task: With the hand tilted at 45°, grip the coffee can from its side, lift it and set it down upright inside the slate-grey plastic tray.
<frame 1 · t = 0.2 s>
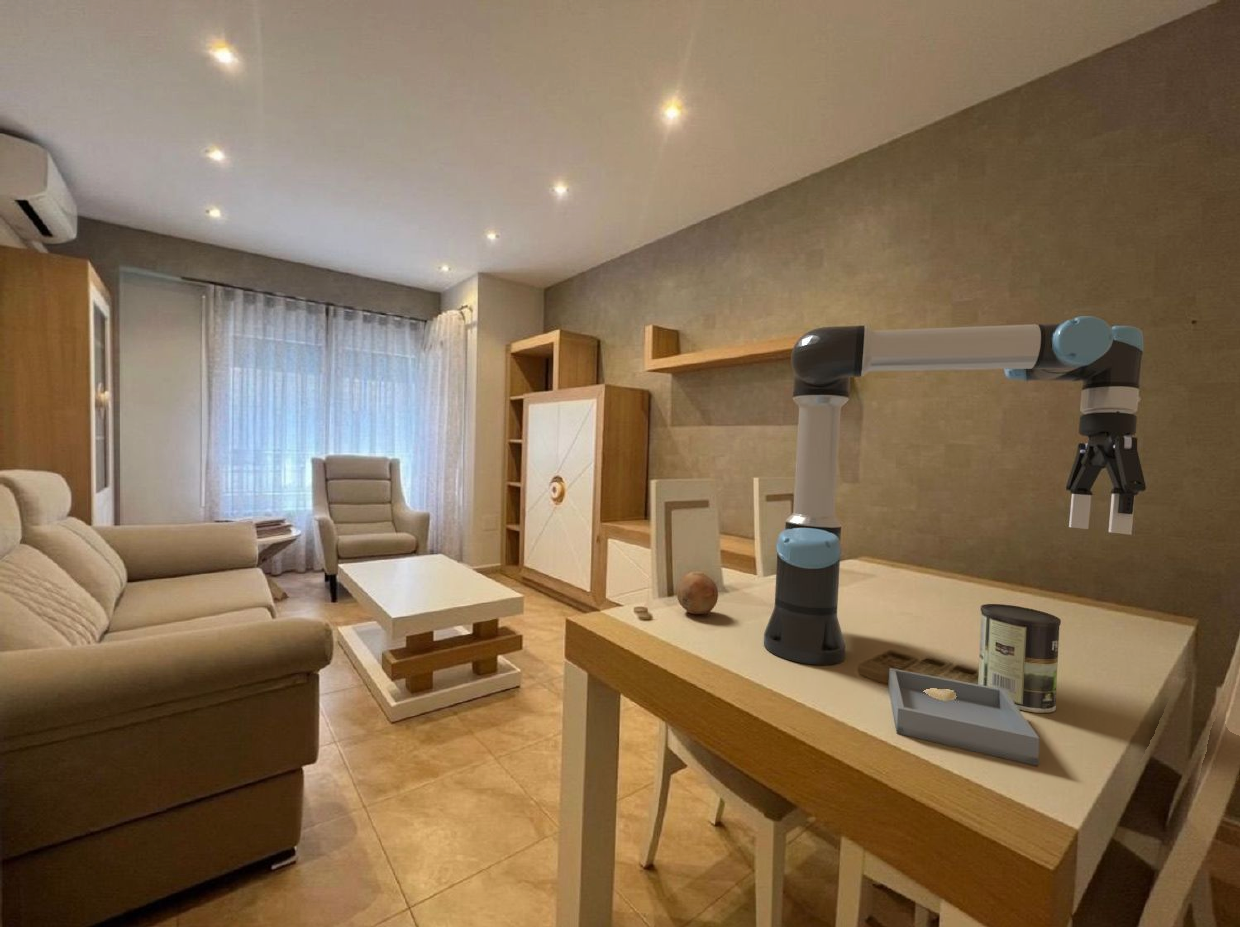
hand: (1097, 530, 91), 27 cm above the table, tool pointing down, fingers open, 13 cm apart
coffee can: (1014, 699, 83), on the table
onion: (696, 614, 121), on the table
tray: (952, 722, 74), on the table
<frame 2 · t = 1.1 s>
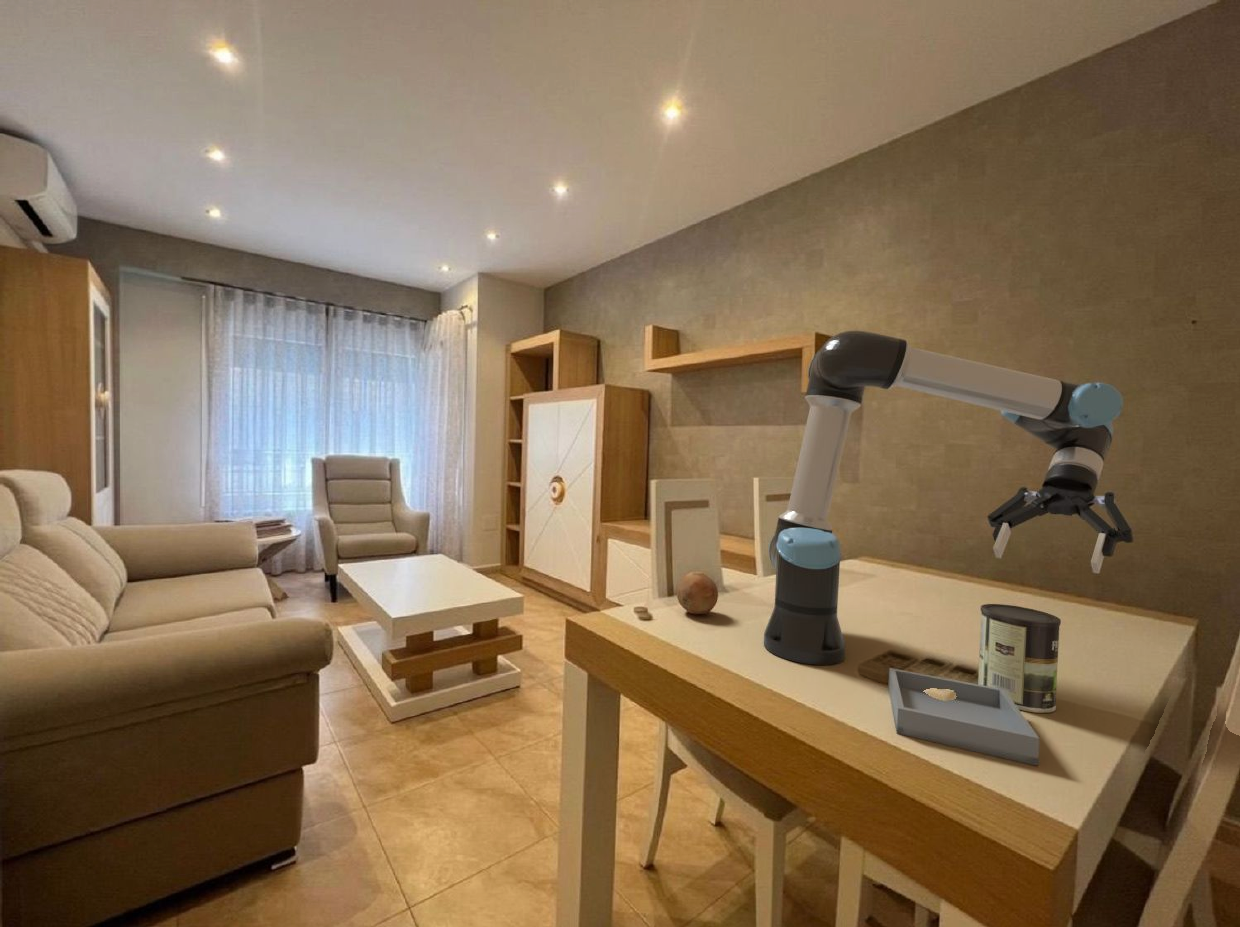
hand: (1042, 560, 89), 22 cm above the table, tool tilted 45°, fingers open, 13 cm apart
nothing on the table moved.
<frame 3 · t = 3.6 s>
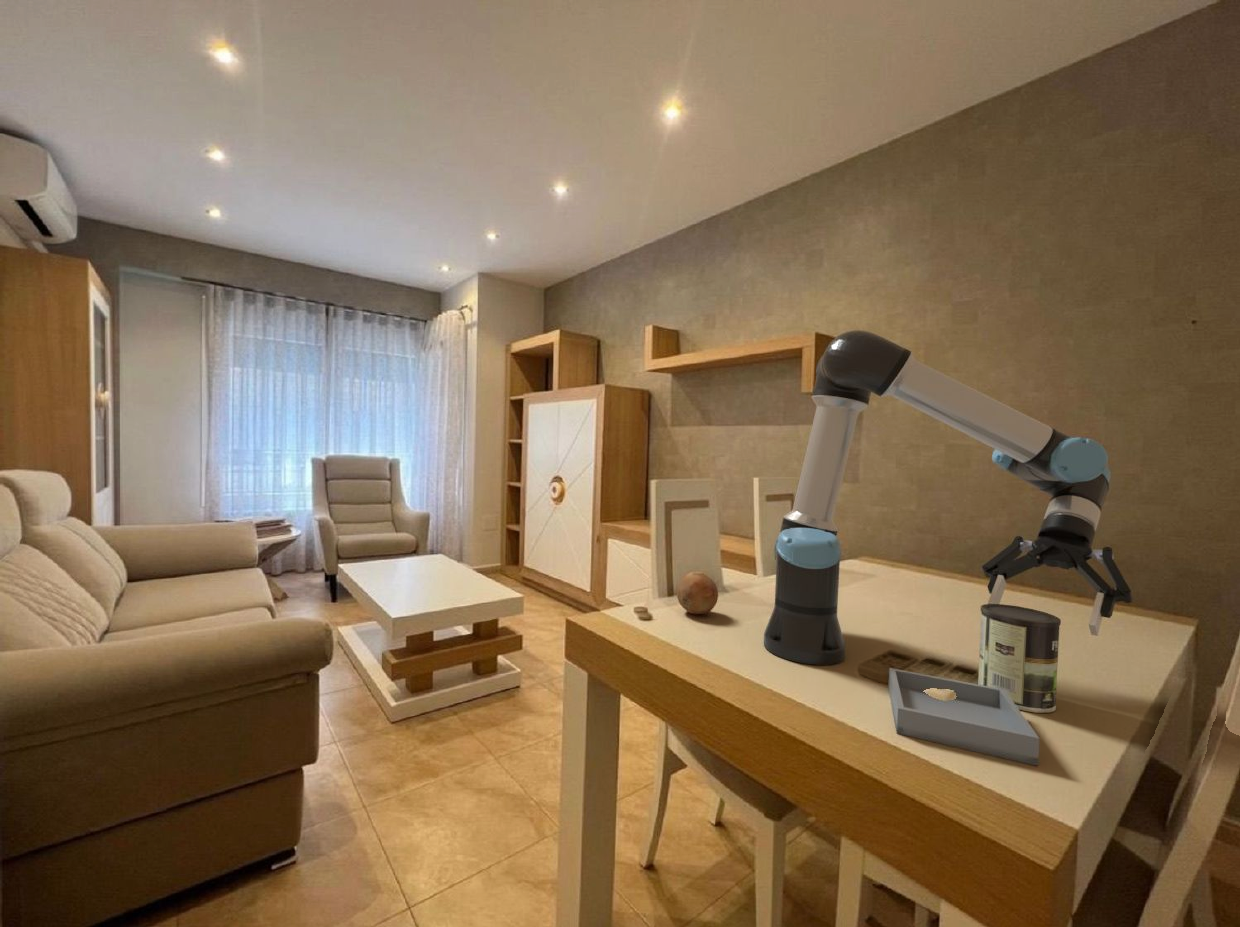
hand: (1039, 618, 86), 12 cm above the table, tool tilted 45°, fingers open, 13 cm apart
nothing on the table moved.
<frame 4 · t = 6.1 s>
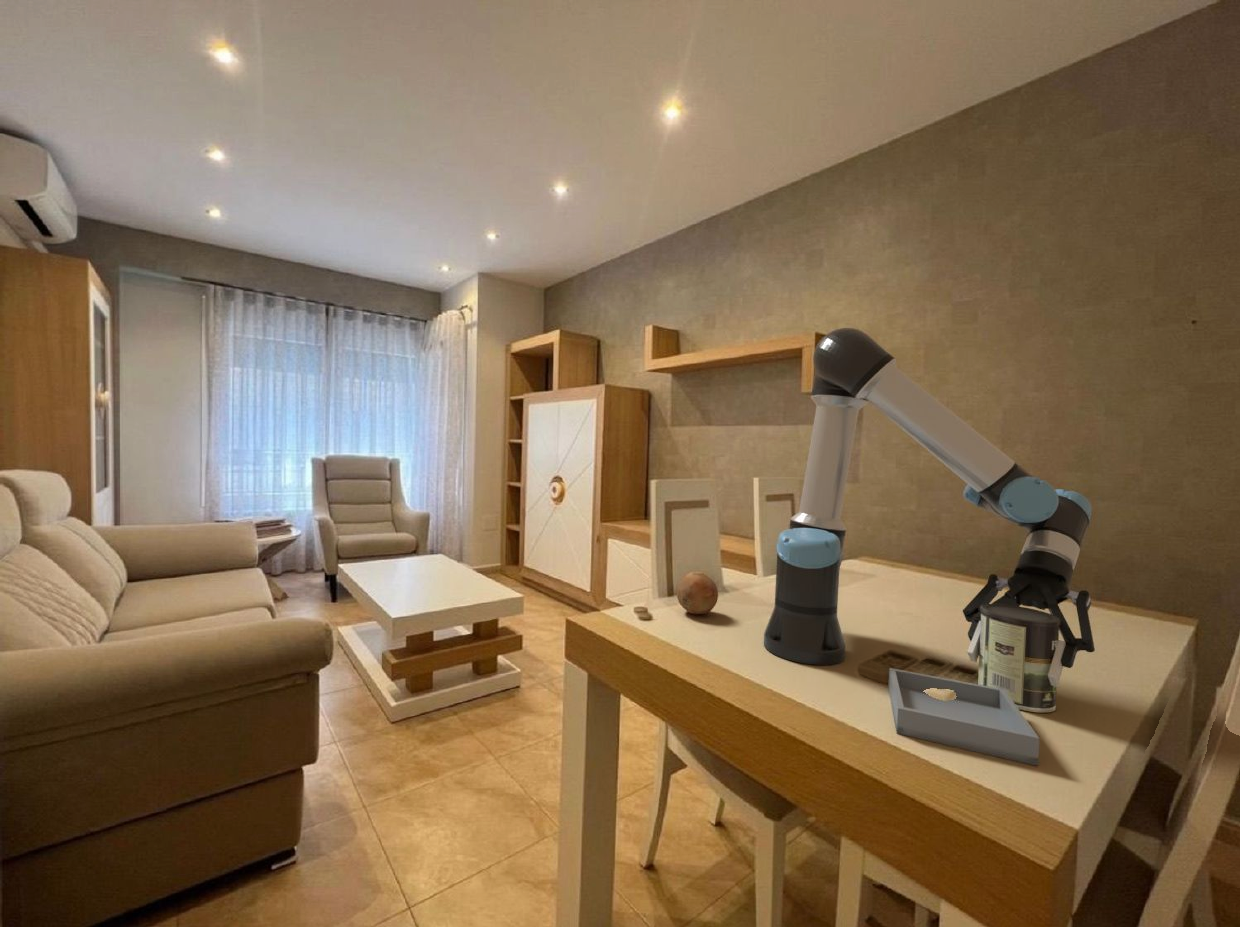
hand: (1010, 668, 81), 5 cm above the table, tool tilted 45°, fingers closed on coffee can, 10 cm apart
coffee can: (1014, 699, 83), on the table, touching gripper
everything else where it was.
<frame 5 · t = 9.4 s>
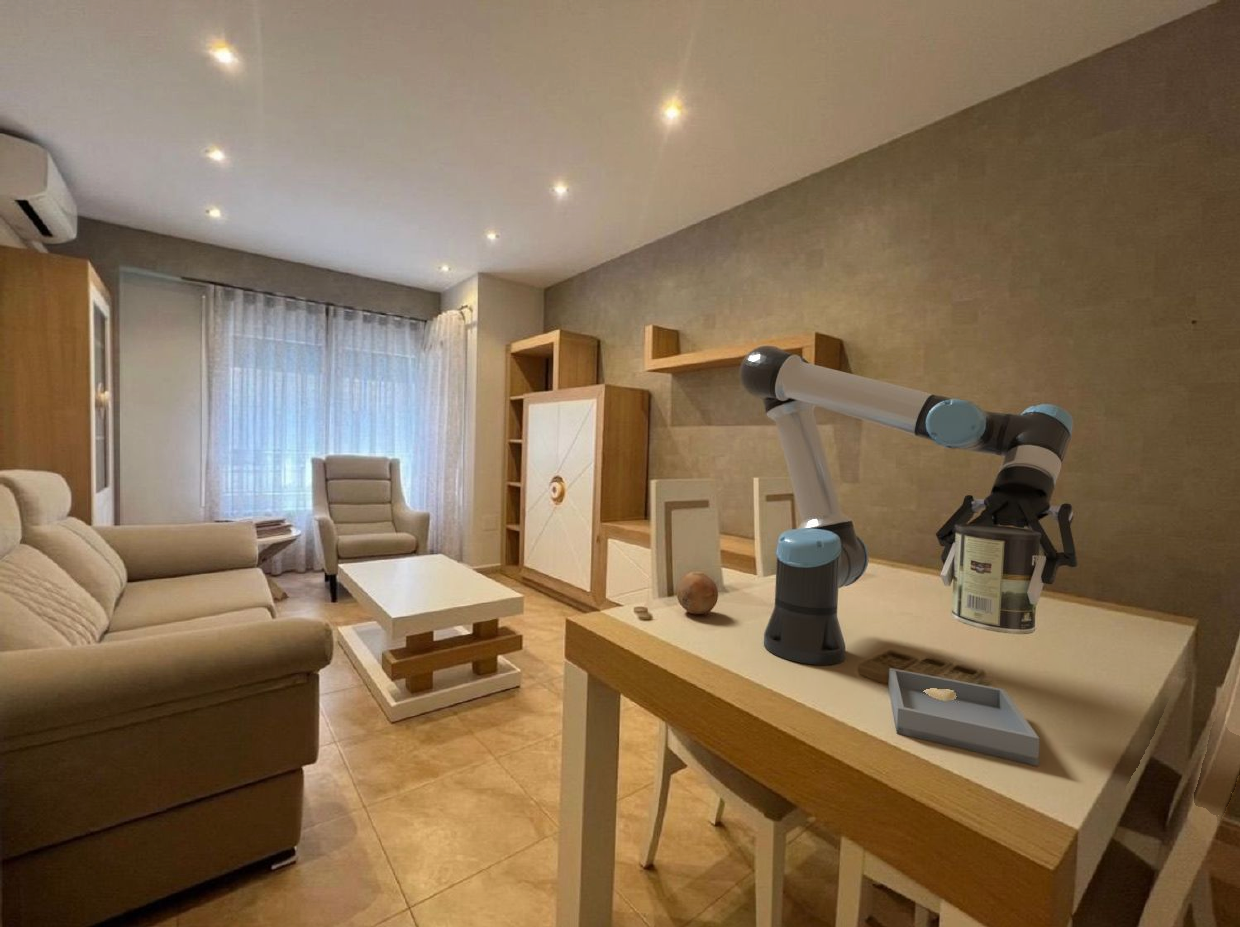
hand: (986, 589, 74), 20 cm above the table, tool tilted 45°, fingers closed on coffee can, 10 cm apart
coffee can: (990, 623, 76), point 14 cm above the table, touching gripper
everything else where it was.
when the fingers open (9 cm above the table, at t = 12.6 s): coffee can drops 2 cm, resting on tray.
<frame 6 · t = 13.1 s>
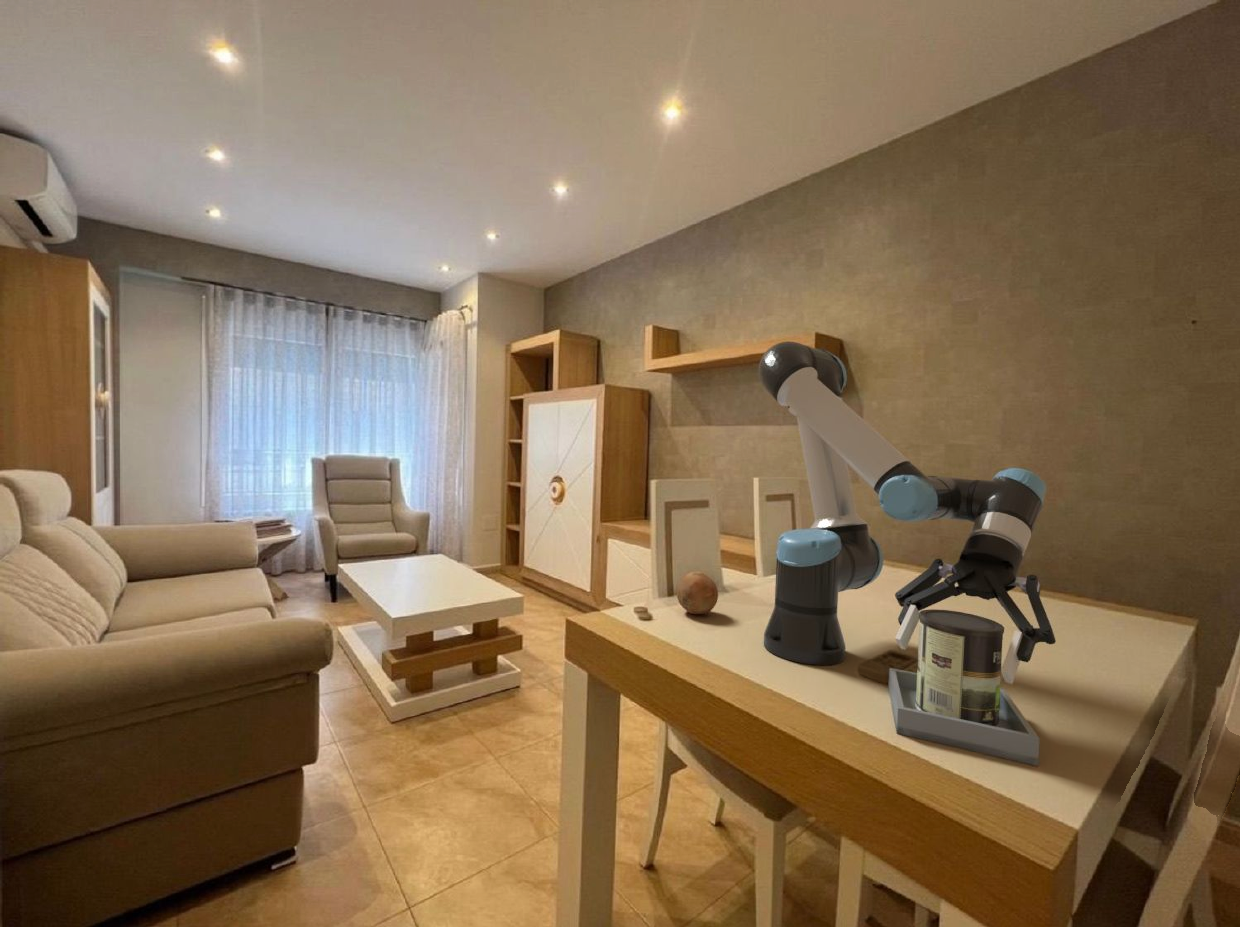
hand: (949, 659, 72), 10 cm above the table, tool tilted 45°, fingers open, 13 cm apart
coffee can: (954, 717, 74), point 1 cm above the table, touching tray
everything else where it was.
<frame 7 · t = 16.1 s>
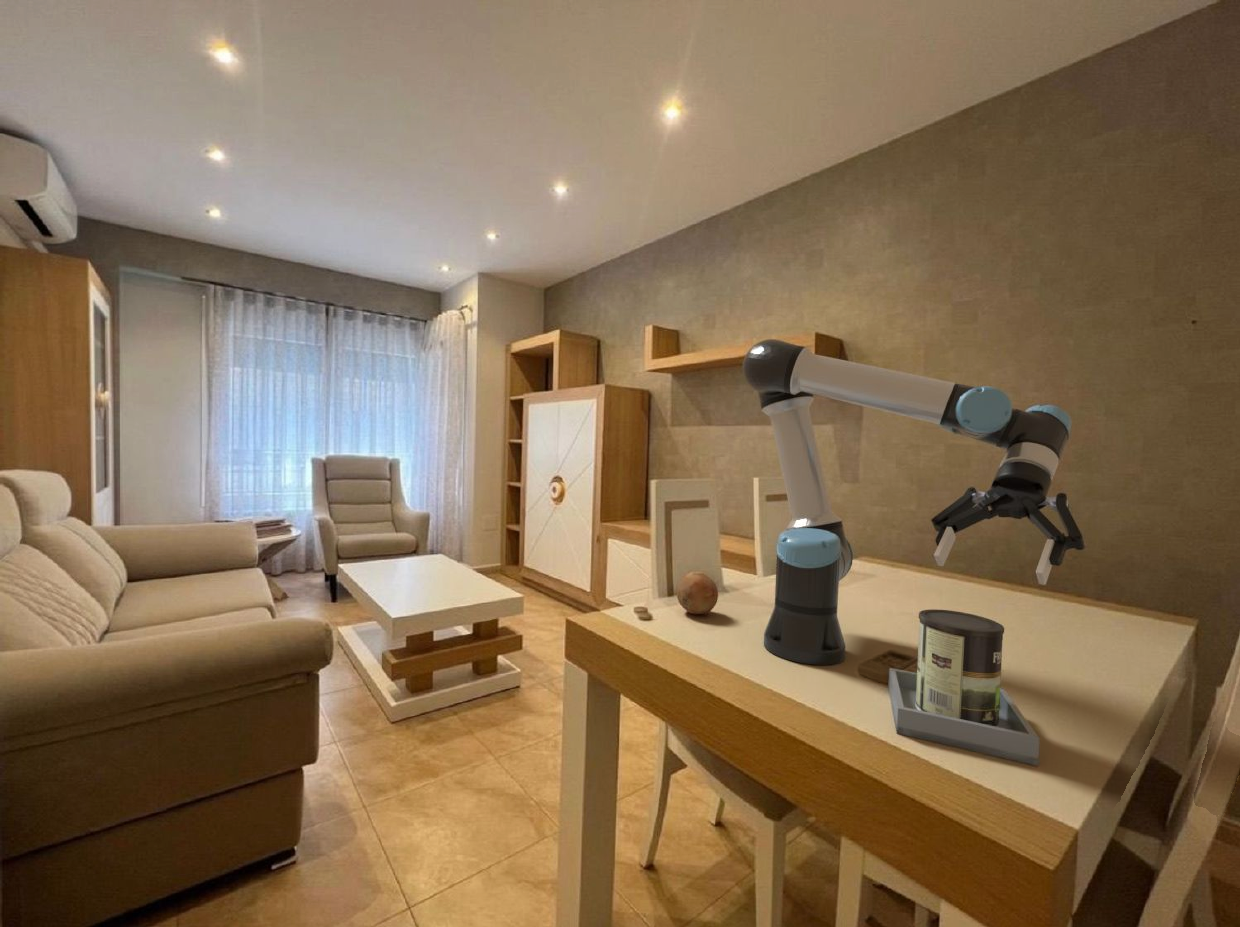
hand: (985, 569, 79), 21 cm above the table, tool tilted 45°, fingers open, 13 cm apart
nothing on the table moved.
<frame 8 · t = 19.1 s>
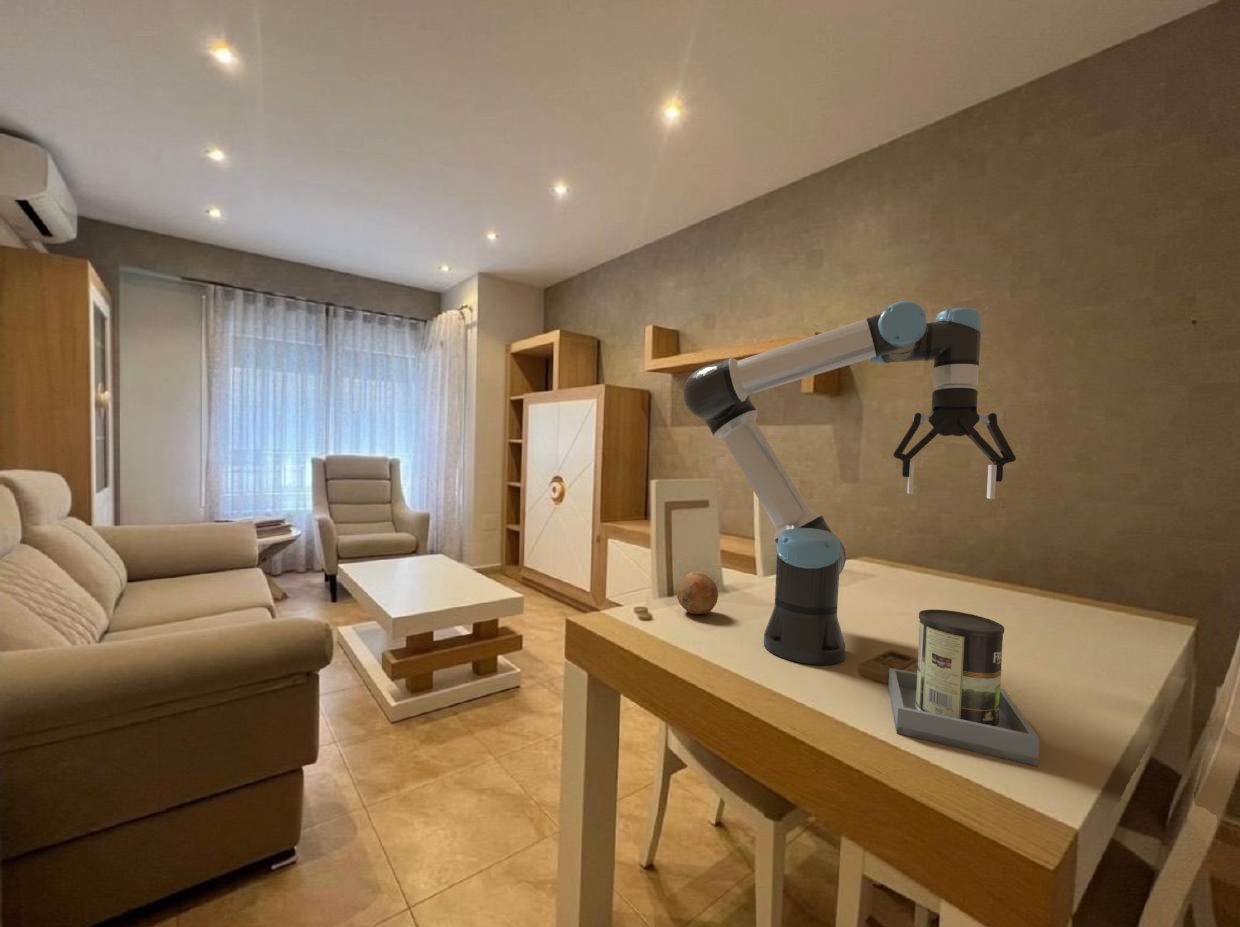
hand: (949, 496, 101), 32 cm above the table, tool pointing down, fingers open, 13 cm apart
nothing on the table moved.
at the end: coffee can 0.2 cm off-centre on the tray, point 0.8 cm above the tray's base; coffee can tilted 0°; the gripper is holding nothing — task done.
